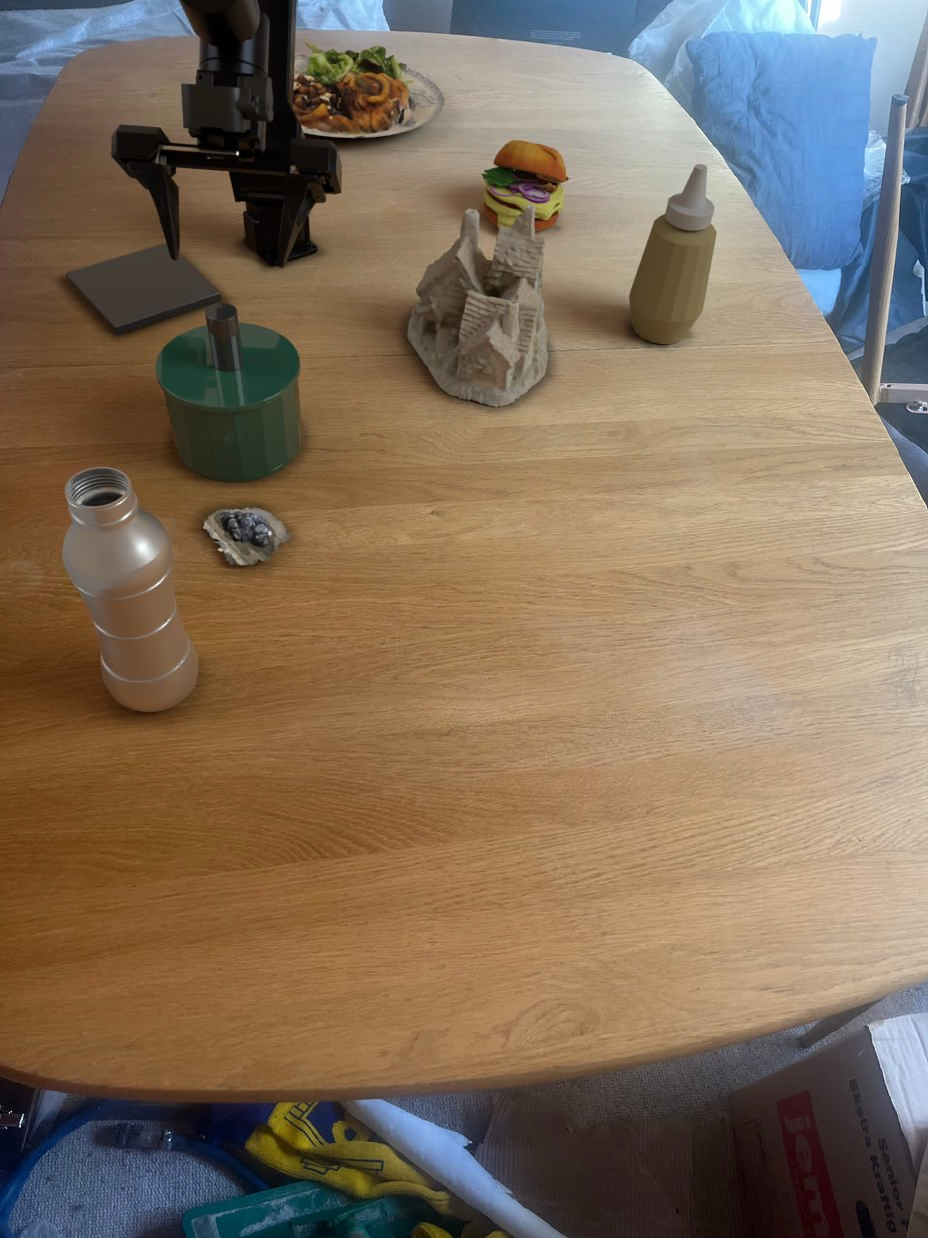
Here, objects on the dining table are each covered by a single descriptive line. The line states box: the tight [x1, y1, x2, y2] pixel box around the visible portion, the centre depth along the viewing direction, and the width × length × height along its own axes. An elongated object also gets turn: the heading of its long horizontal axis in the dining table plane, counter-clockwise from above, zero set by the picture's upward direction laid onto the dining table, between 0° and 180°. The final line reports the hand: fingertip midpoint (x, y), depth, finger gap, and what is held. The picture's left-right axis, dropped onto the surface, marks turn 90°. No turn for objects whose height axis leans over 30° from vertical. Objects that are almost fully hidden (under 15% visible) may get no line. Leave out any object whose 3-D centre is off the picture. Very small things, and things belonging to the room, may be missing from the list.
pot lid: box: [154, 302, 301, 413], centre depth 81 cm, size 12×12×6 cm
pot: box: [163, 378, 303, 483], centre depth 86 cm, size 11×11×8 cm
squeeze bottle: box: [628, 163, 718, 345], centre depth 99 cm, size 8×8×18 cm
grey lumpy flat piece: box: [202, 506, 292, 567], centre depth 81 cm, size 7×8×2 cm
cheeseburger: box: [481, 139, 570, 232], centre depth 117 cm, size 10×11×10 cm
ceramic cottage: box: [406, 204, 549, 408], centre depth 95 cm, size 16×16×15 cm
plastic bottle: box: [61, 466, 199, 713], centre depth 63 cm, size 6×7×20 cm
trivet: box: [64, 242, 222, 336], centre depth 103 cm, size 12×12×1 cm
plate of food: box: [293, 41, 445, 139], centre depth 133 cm, size 28×28×6 cm
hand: (227, 263), depth 84 cm, fingers open, 9 cm apart
